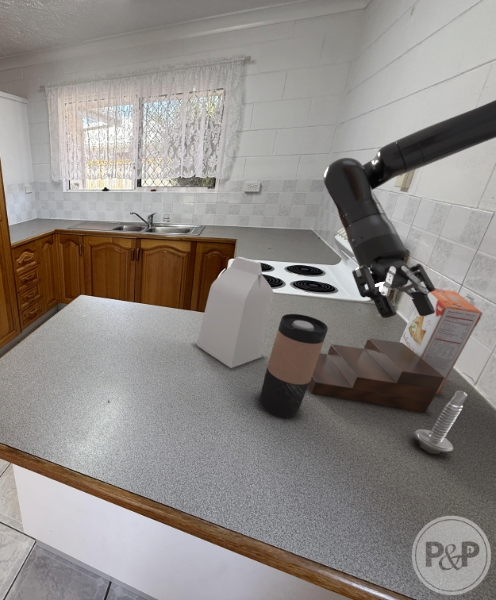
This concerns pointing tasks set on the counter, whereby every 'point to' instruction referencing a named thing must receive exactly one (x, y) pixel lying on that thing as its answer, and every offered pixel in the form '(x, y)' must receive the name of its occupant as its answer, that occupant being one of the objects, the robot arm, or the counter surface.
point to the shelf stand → (377, 375)
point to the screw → (441, 427)
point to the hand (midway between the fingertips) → (409, 315)
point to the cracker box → (442, 331)
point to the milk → (237, 314)
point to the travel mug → (292, 364)
